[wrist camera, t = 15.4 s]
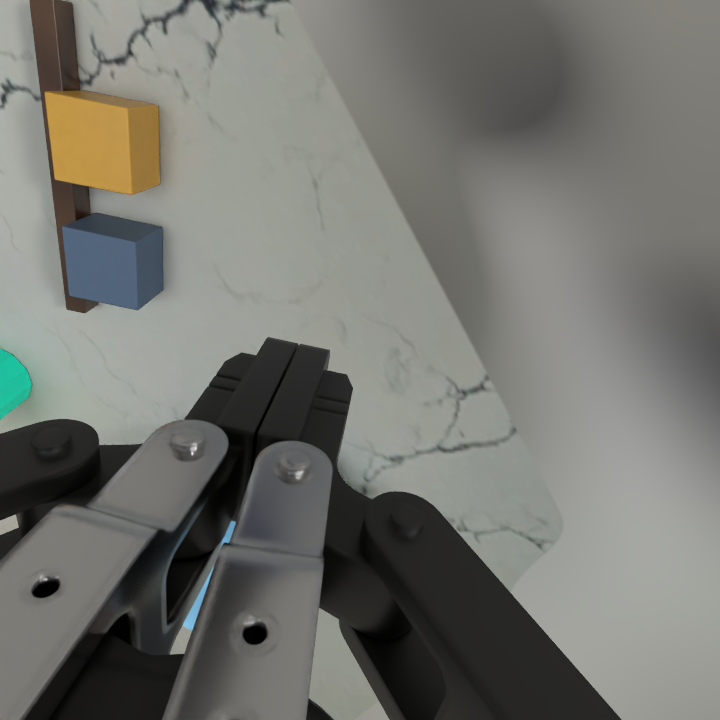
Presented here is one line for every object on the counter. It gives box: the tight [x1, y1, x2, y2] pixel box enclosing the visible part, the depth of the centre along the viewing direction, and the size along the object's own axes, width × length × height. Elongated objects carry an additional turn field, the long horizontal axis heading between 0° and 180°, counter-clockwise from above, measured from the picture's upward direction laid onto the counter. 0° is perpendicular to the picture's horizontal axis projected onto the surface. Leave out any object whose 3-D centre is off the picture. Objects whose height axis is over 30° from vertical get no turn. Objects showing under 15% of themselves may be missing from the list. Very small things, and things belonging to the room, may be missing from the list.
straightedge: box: [30, 0, 98, 313], centre depth 35 cm, size 20×2×2 cm, turn 169°
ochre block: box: [45, 90, 160, 195], centre depth 32 cm, size 5×5×4 cm
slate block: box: [62, 213, 163, 310], centre depth 36 cm, size 5×5×4 cm
